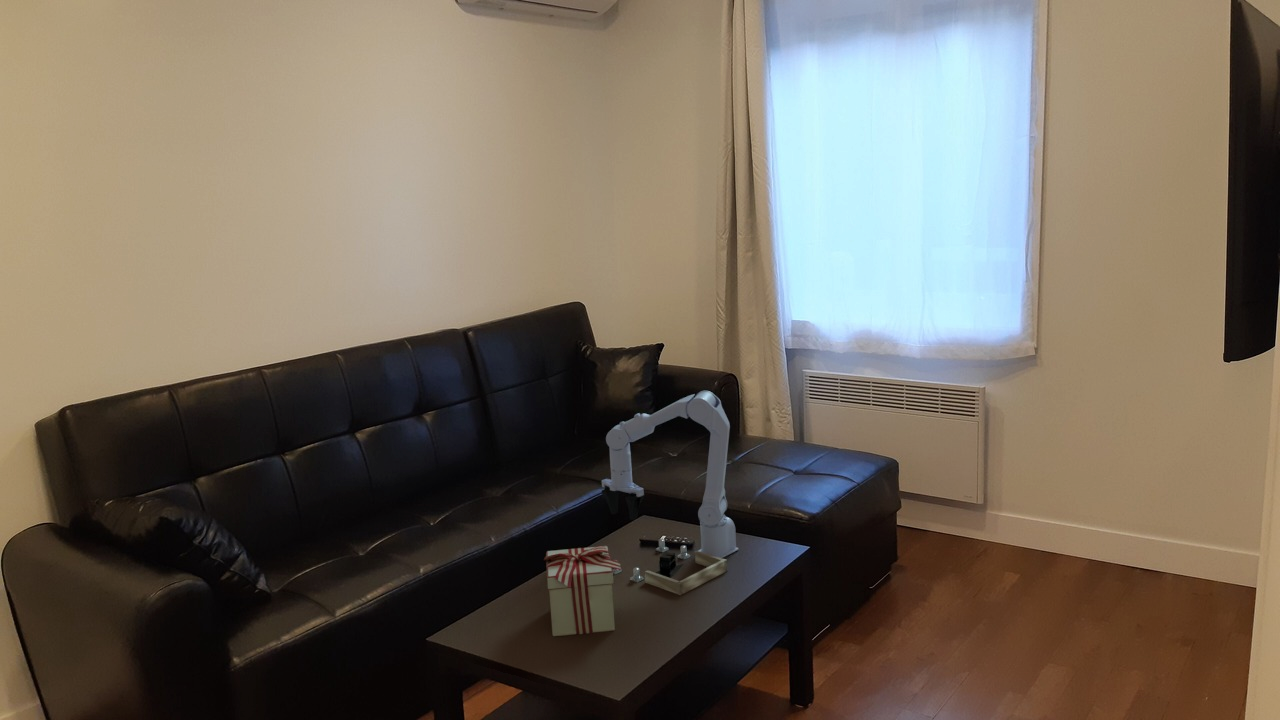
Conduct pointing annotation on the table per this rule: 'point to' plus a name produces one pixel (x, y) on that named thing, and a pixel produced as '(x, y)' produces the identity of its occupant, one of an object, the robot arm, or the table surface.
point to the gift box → (581, 590)
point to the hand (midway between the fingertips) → (624, 516)
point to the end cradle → (680, 587)
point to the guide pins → (661, 549)
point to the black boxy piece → (668, 565)
